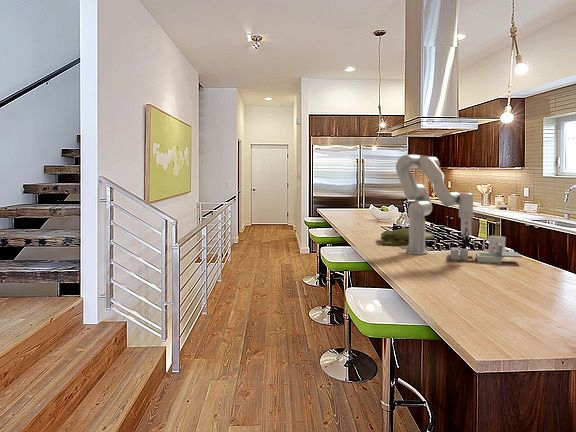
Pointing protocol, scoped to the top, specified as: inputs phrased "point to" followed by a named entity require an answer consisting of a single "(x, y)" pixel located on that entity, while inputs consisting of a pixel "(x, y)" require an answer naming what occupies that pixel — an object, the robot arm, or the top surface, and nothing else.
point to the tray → (461, 259)
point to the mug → (495, 243)
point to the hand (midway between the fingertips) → (465, 245)
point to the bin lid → (505, 254)
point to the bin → (488, 258)
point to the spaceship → (400, 237)
